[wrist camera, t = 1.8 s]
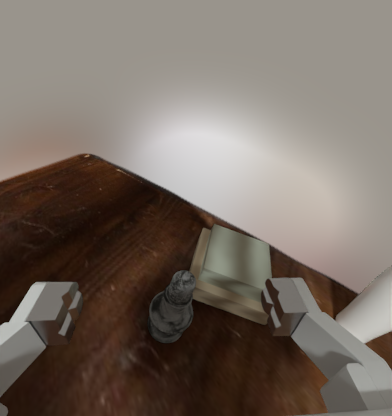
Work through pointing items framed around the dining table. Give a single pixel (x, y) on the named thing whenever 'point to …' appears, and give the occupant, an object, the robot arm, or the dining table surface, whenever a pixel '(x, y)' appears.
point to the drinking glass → (370, 310)
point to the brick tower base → (222, 294)
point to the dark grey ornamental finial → (172, 308)
